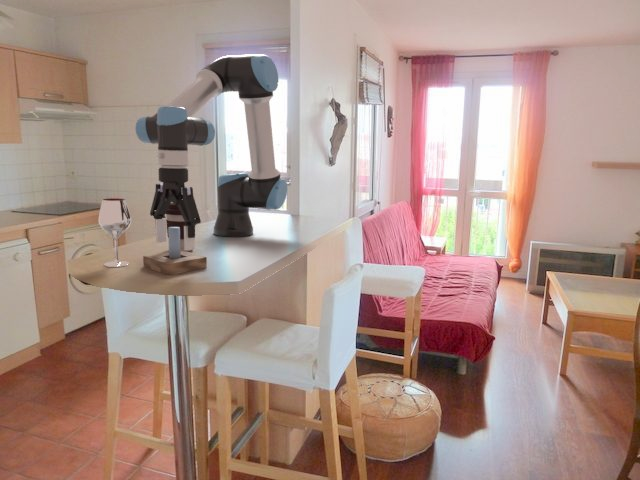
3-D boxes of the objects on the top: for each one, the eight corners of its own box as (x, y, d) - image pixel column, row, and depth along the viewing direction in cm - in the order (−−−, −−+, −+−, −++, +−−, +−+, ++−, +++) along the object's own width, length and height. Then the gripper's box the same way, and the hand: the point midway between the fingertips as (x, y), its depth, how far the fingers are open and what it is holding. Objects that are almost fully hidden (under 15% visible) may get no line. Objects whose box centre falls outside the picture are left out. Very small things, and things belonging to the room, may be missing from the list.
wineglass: (106, 260, 137) (103, 197, 133) (136, 261, 137) (134, 198, 134) (96, 267, 129) (92, 200, 125) (127, 268, 129) (125, 201, 126)
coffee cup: (188, 254, 149) (187, 206, 146) (159, 251, 150) (158, 204, 148) (202, 248, 158) (202, 202, 155) (174, 246, 160) (173, 201, 157)
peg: (176, 265, 134) (175, 226, 132) (182, 267, 133) (182, 227, 130) (167, 267, 132) (166, 227, 130) (173, 269, 130) (172, 229, 128)
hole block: (181, 260, 141) (181, 250, 140) (206, 267, 133) (206, 257, 132) (143, 266, 132) (143, 256, 131) (168, 275, 124) (167, 263, 123)
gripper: (135, 164, 132) (138, 240, 136) (188, 169, 117) (190, 255, 120) (160, 164, 138) (161, 237, 142) (214, 169, 122) (214, 251, 126)
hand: (174, 245), depth 131 cm, fingers open, 13 cm apart
